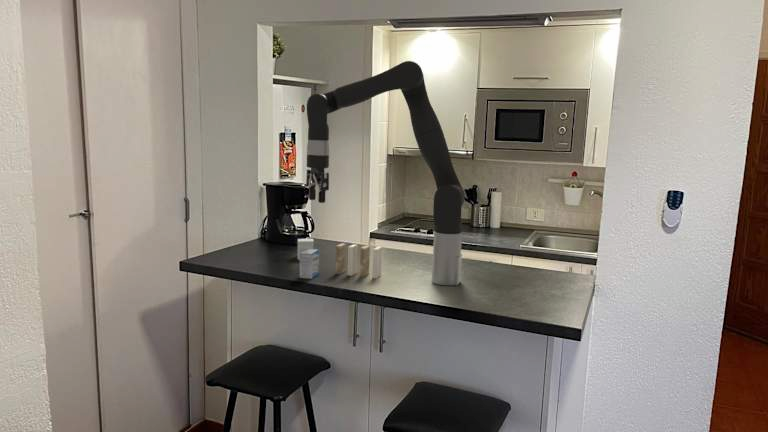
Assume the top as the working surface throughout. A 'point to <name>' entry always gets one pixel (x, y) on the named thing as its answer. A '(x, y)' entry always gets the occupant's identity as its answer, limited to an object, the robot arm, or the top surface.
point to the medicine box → (309, 263)
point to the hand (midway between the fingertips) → (316, 201)
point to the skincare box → (304, 246)
